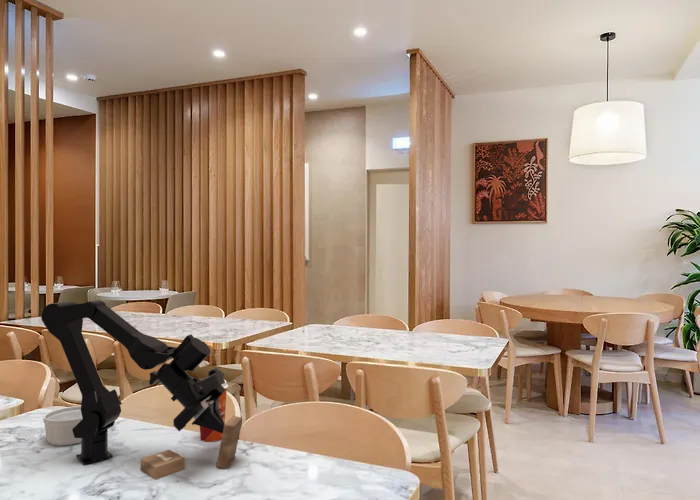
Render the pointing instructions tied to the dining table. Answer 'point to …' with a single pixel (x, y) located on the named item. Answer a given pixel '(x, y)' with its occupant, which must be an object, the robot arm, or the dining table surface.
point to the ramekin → (62, 425)
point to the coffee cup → (213, 435)
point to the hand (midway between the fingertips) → (225, 431)
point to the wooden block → (229, 442)
